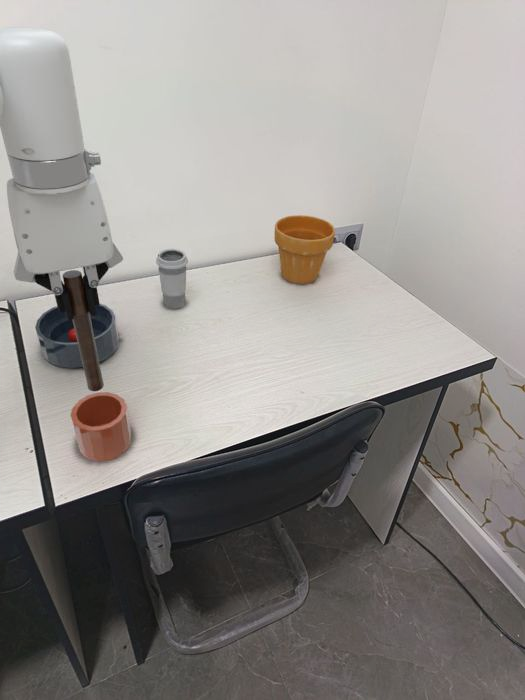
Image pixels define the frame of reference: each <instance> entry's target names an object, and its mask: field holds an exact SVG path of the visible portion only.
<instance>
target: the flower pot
mask: <svg viewBox="0 0 525 700" xmlns="http://www.w3.org/2000/svg"><path fill="white" fill-rule="evenodd" d="M335 235H336V229H335V226H334V225H333V224H332V223H331V222H329V221H327V220H325V219H323V218H320V217H316V216H311V215H303V214H301V215H300V214H297V215H288V216H285V217H281V218H280V219H278V220H277V221H276V222H275V224H274V235H273V236H274V243H275V244H276V246H277V248H278V256H279V262H280V269H281V275H282V278H283V279H284V280H286V281H288V282H290V283H293V284H298V285H306V284H307V285H308V284H311V283H313V282H315V281H316V280H317V279H318V276H319V274H320V272H321V269H322V266H323V263H324V261H325V258H326V257H327V256H326V255H327V253H328V251H329V250H331V249H332V247H333V245H334V241H335Z"/></svg>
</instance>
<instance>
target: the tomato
mask: <svg viewBox="0 0 525 700" xmlns="http://www.w3.org/2000/svg"><path fill="white" fill-rule="evenodd" d="M68 337H69V339H70V341H71V342H77V338H76V333H75V329H74V328H73V329H71V330H70V332H69V334H68Z"/></svg>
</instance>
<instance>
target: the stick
mask: <svg viewBox="0 0 525 700" xmlns="http://www.w3.org/2000/svg"><path fill="white" fill-rule="evenodd" d="M62 280H63V284H64V285H65V289H66V290H67V292H68V294H69V299H70V303H71V308H72V312H73V317H74V319H72V320H73V324H74V329H75V333H76V338H77V342H78V346H79V351H80V355H81V360H82V364H83V367H82V369H83V374H84V377H85V381H86V387H87V389H88V391H90V392H99V391H100V390H102V389H104V386H105V384H104V379H103V373H102V368H101V364H100V362H99V358H98V353H97V348H96V343H95V338H94V333H93V328H92V323H91V318H90V313H89V309H88V304H87V299H86V294H85V289H84V283H83V273H82V272H81V271H80V270H75V269H70V270H66V271H64V273H63V274H62Z"/></svg>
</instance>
